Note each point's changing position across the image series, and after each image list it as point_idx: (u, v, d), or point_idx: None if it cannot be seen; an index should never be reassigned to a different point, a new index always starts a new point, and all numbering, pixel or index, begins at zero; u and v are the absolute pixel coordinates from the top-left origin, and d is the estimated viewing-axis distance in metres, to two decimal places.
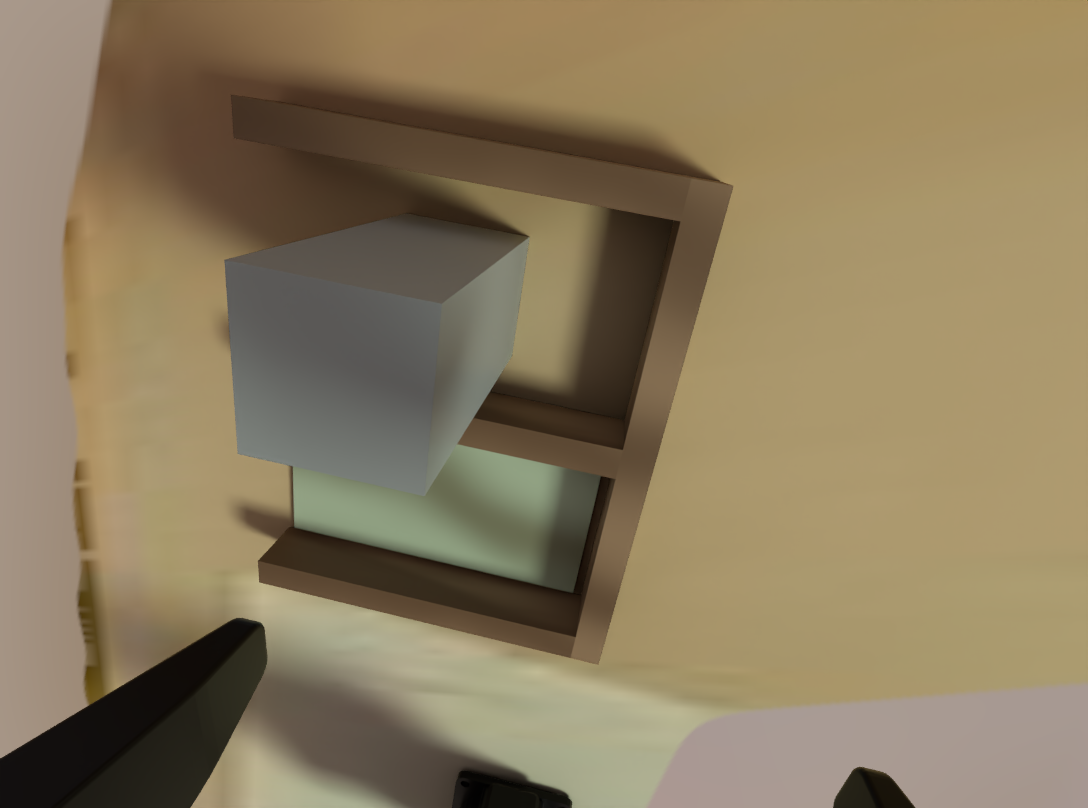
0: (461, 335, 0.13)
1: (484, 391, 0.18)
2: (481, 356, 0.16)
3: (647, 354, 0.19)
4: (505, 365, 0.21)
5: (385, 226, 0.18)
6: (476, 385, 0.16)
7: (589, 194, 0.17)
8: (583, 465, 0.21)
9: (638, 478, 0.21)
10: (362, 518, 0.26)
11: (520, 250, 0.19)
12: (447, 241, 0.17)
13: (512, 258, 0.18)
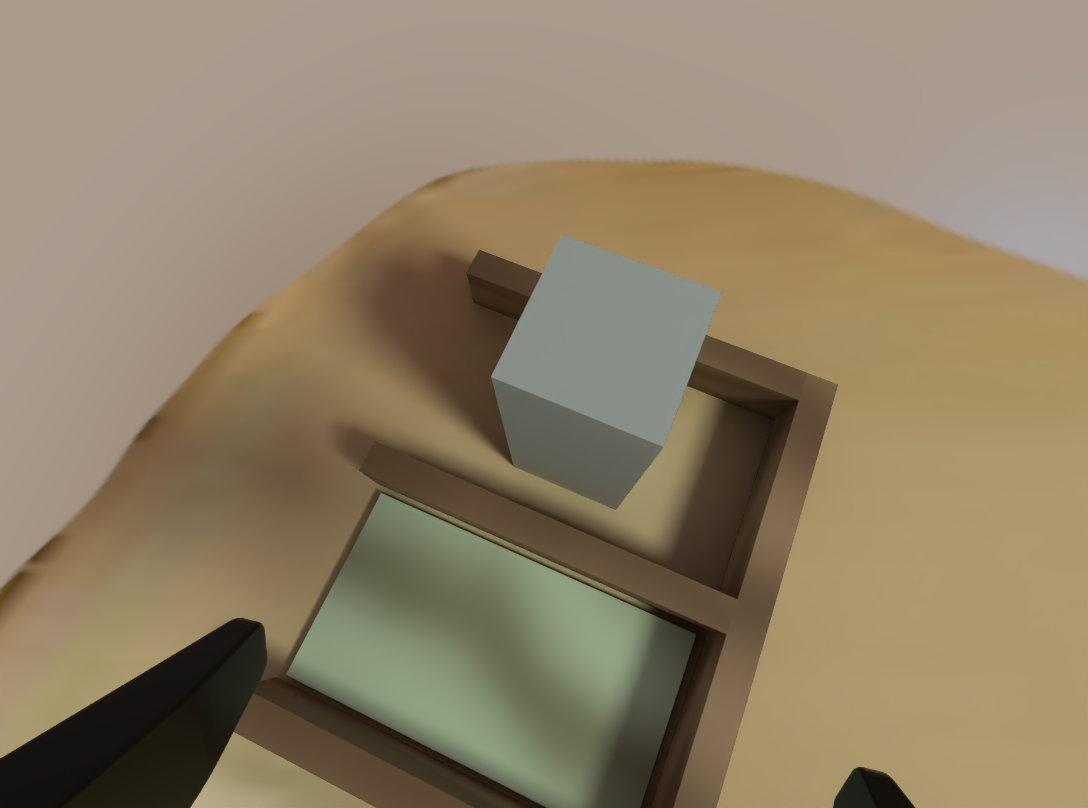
0: None
1: None
2: None
3: (767, 503, 0.21)
4: (619, 504, 0.22)
5: None
6: None
7: (730, 367, 0.22)
8: (694, 611, 0.19)
9: (751, 637, 0.19)
10: (383, 675, 0.21)
11: None
12: None
13: None
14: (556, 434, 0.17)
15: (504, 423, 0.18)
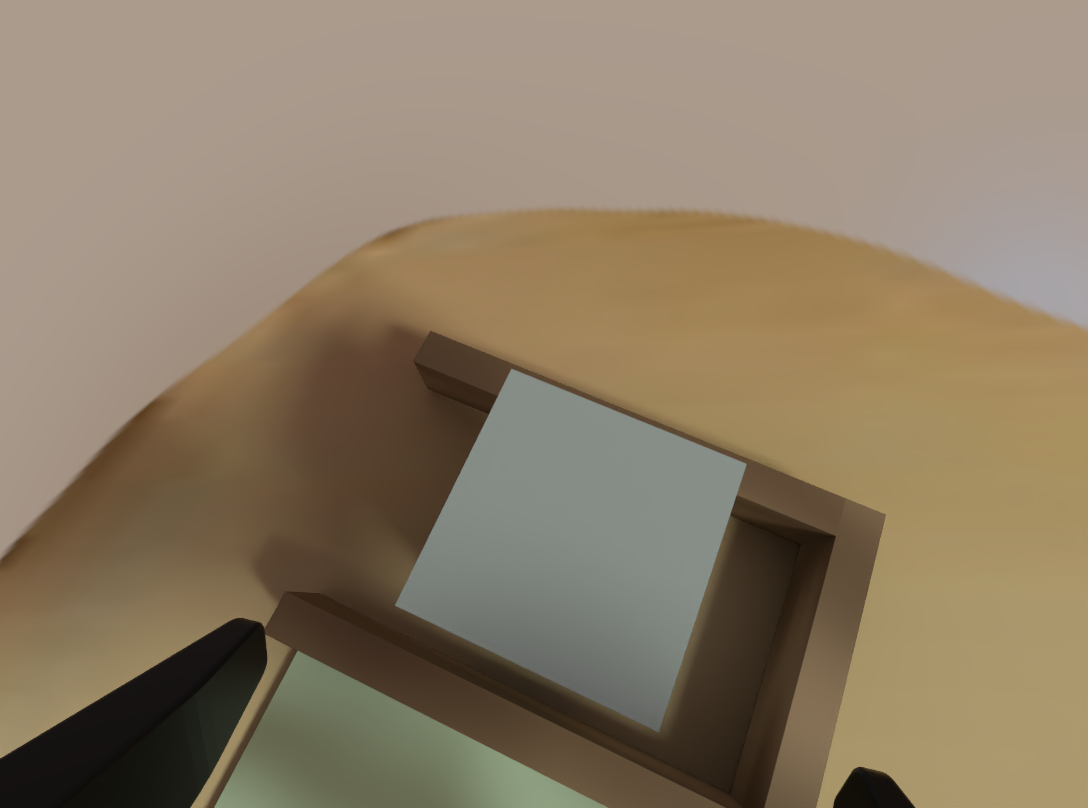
0: None
1: None
2: None
3: (797, 681, 0.16)
4: None
5: None
6: None
7: (747, 489, 0.17)
8: None
9: None
10: None
11: None
12: None
13: None
14: None
15: None
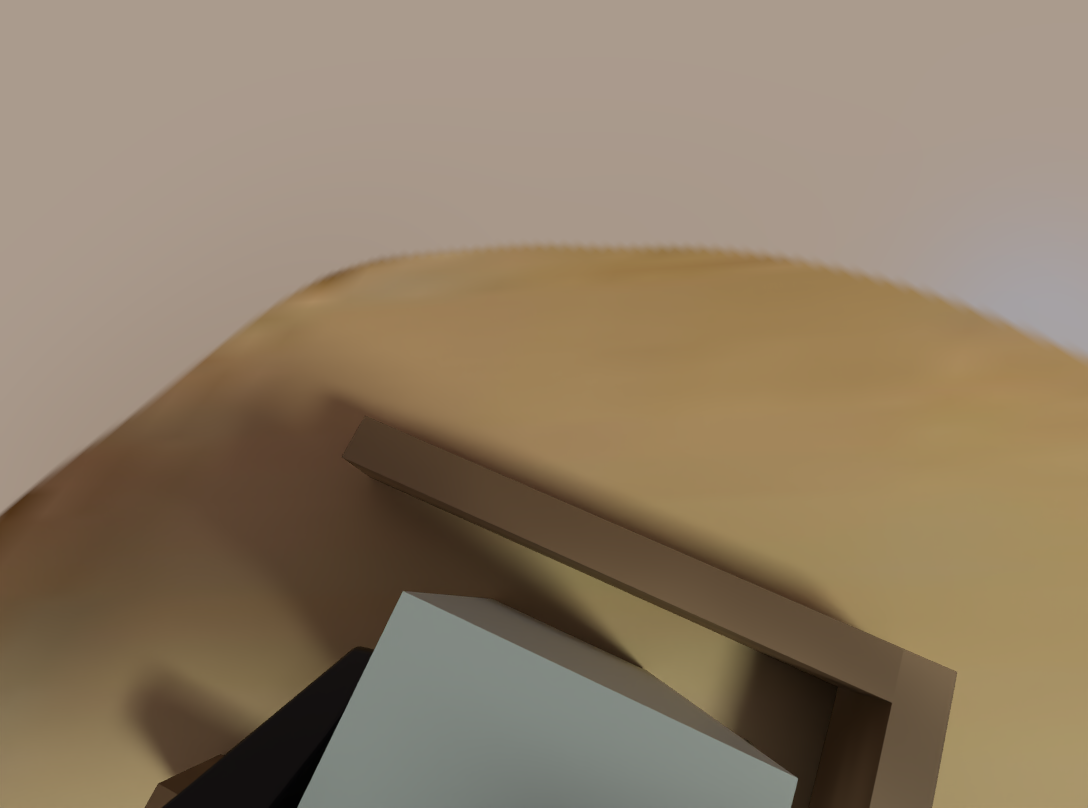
0: None
1: None
2: None
3: None
4: None
5: (500, 608, 0.13)
6: None
7: (773, 636, 0.13)
8: None
9: None
10: None
11: None
12: (590, 650, 0.12)
13: None
14: None
15: None
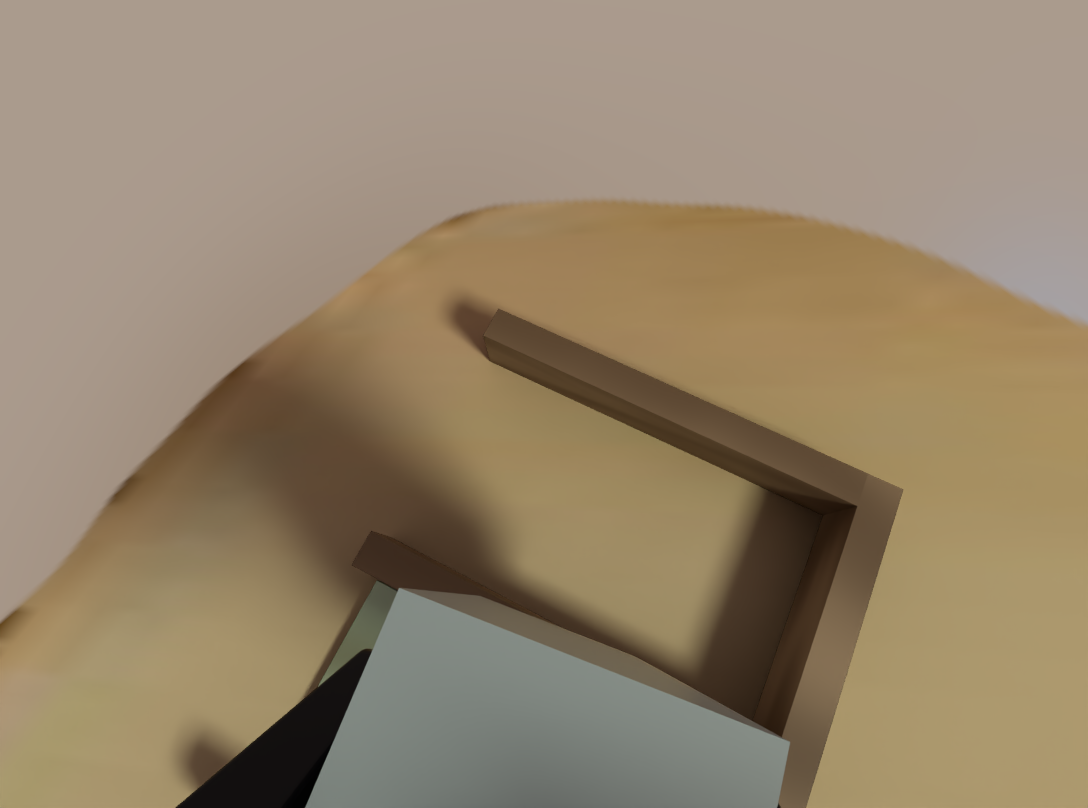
0: None
1: None
2: None
3: (816, 629, 0.18)
4: None
5: (489, 603, 0.13)
6: None
7: (779, 462, 0.19)
8: None
9: (793, 794, 0.17)
10: None
11: None
12: (581, 639, 0.12)
13: None
14: None
15: None
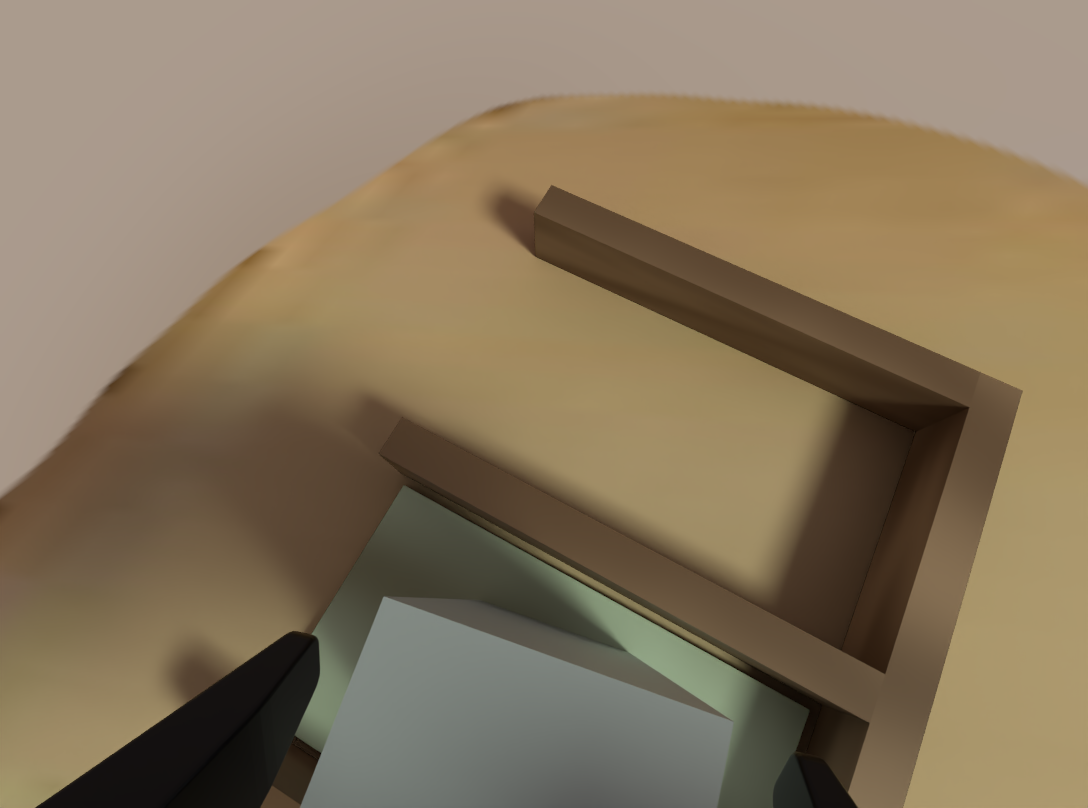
0: None
1: None
2: None
3: (925, 542, 0.15)
4: None
5: (484, 607, 0.14)
6: None
7: (876, 356, 0.17)
8: (825, 686, 0.14)
9: (905, 731, 0.14)
10: None
11: None
12: (570, 638, 0.13)
13: None
14: None
15: None
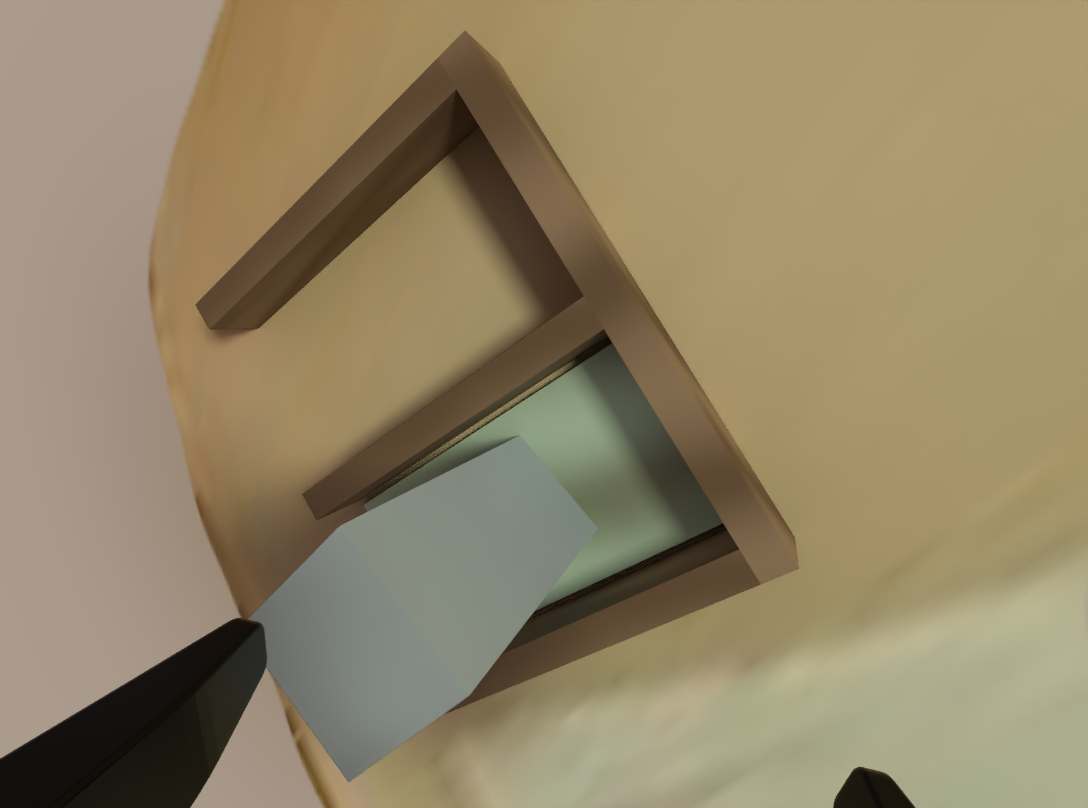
0: (419, 538, 0.14)
1: (548, 572, 0.17)
2: (499, 544, 0.16)
3: (525, 199, 0.18)
4: (587, 539, 0.20)
5: None
6: (516, 570, 0.16)
7: (392, 140, 0.19)
8: (568, 343, 0.18)
9: (621, 308, 0.17)
10: None
11: (507, 449, 0.20)
12: None
13: (492, 458, 0.19)
14: None
15: None
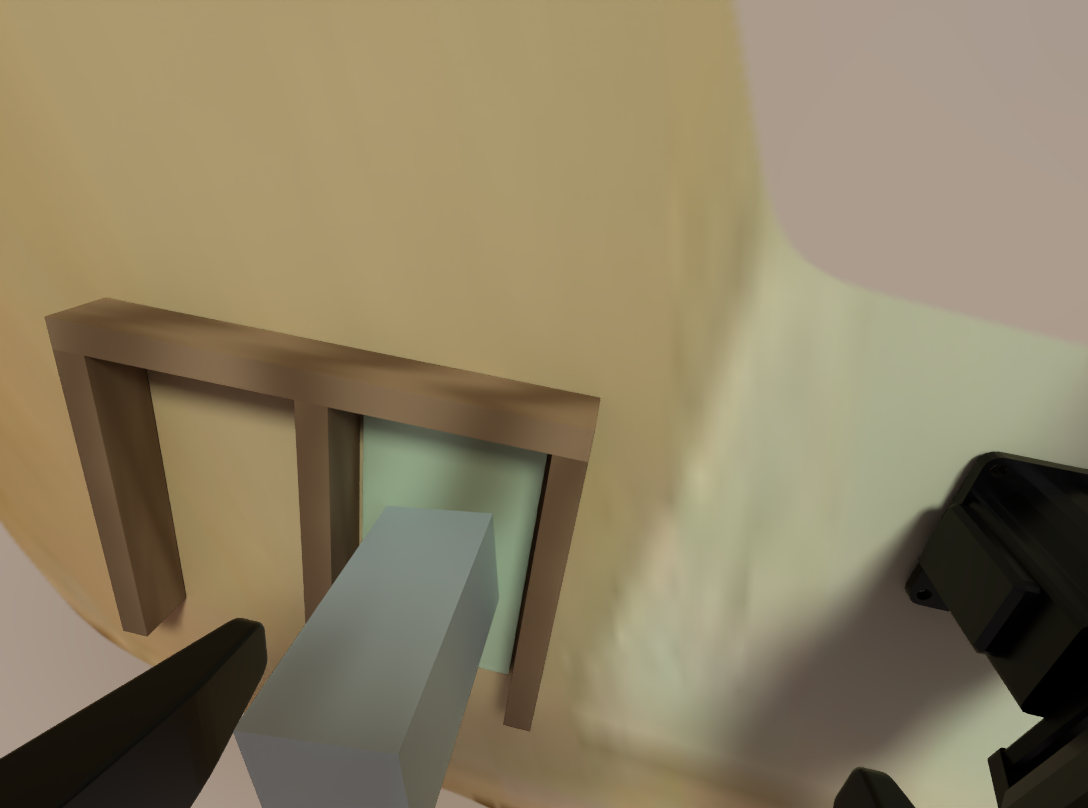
0: (311, 677, 0.16)
1: (448, 594, 0.19)
2: (392, 614, 0.18)
3: (197, 378, 0.20)
4: (484, 532, 0.22)
5: None
6: (415, 621, 0.18)
7: (92, 422, 0.21)
8: (321, 436, 0.20)
9: (320, 384, 0.19)
10: None
11: (377, 528, 0.22)
12: None
13: (363, 551, 0.21)
14: (442, 726, 0.18)
15: (458, 728, 0.20)
